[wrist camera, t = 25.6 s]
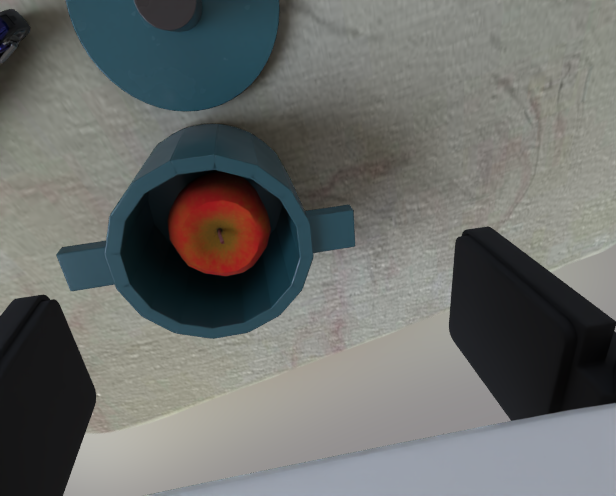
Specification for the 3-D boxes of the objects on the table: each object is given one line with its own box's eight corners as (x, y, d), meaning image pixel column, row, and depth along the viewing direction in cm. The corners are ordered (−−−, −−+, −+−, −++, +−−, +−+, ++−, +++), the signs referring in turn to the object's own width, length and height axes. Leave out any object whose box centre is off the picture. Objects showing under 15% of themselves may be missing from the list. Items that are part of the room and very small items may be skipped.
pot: (78, 139, 29) (18, 179, 21) (319, 109, 31) (353, 136, 23) (124, 281, 34) (91, 360, 26) (329, 248, 36) (361, 313, 28)
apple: (163, 215, 32) (146, 261, 25) (200, 141, 30) (192, 170, 24) (239, 249, 34) (242, 300, 28) (278, 183, 32) (291, 220, 26)
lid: (36, -114, 24) (-27, -165, 18) (263, -129, 25) (274, -180, 19) (105, 119, 29) (74, 140, 23) (288, 97, 30) (302, 111, 25)
